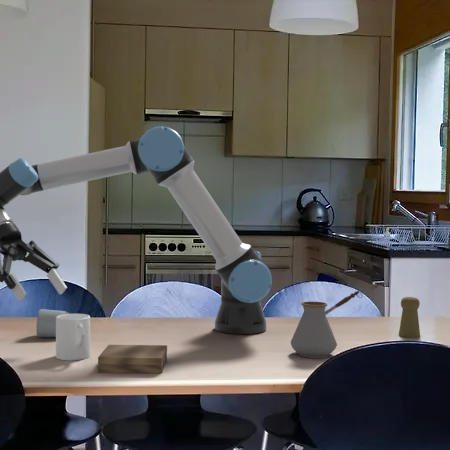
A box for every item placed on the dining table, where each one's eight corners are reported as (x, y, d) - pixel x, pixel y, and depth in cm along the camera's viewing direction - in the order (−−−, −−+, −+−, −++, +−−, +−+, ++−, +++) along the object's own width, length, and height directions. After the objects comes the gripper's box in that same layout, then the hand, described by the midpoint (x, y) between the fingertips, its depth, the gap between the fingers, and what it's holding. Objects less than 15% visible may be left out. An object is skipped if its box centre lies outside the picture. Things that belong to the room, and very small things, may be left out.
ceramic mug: (66, 339, 188) (66, 311, 188) (35, 339, 187) (36, 311, 187) (71, 332, 199) (71, 305, 199) (42, 332, 198) (42, 305, 198)
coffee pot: (310, 362, 166) (311, 299, 165) (281, 352, 175) (281, 293, 175) (375, 351, 177) (376, 293, 177) (344, 343, 187) (345, 288, 186)
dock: (167, 359, 166) (167, 345, 166) (161, 373, 153) (161, 358, 153) (108, 359, 166) (108, 344, 166) (98, 373, 153) (98, 357, 153)
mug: (66, 365, 160) (66, 323, 159) (51, 355, 170) (51, 315, 170) (100, 361, 164) (100, 320, 163) (83, 351, 174) (83, 312, 174)
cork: (422, 334, 199) (422, 296, 199) (418, 338, 194) (419, 299, 194) (400, 332, 202) (401, 295, 202) (396, 336, 197) (397, 297, 196)
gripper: (30, 238, 191) (71, 297, 184) (-47, 243, 169) (-4, 310, 162) (44, 219, 188) (86, 279, 181) (-32, 222, 166) (12, 289, 159)
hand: (44, 294), depth 171 cm, fingers open, 13 cm apart
